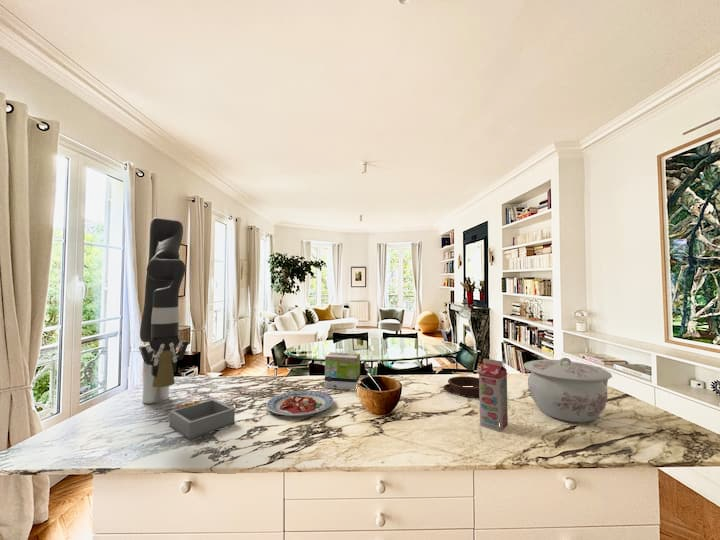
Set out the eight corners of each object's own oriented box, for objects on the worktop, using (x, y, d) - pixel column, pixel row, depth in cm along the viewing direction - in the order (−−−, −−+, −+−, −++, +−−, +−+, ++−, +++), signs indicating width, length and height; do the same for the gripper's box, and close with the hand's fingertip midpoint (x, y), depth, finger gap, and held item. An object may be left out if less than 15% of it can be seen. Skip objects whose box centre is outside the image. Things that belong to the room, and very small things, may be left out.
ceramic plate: (251, 414, 119) (251, 406, 120) (291, 392, 143) (291, 386, 144) (312, 425, 110) (312, 416, 110) (344, 400, 134) (344, 393, 134)
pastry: (174, 420, 114) (174, 409, 114) (168, 415, 119) (169, 404, 119) (202, 413, 121) (202, 402, 121) (196, 408, 126) (196, 398, 126)
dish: (503, 399, 135) (502, 387, 135) (450, 400, 134) (450, 388, 134) (485, 386, 152) (484, 375, 152) (438, 387, 151) (438, 376, 151)
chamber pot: (523, 421, 112) (522, 361, 113) (524, 397, 137) (523, 347, 138) (625, 439, 99) (623, 371, 100) (606, 409, 124) (605, 354, 125)
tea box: (324, 389, 148) (324, 356, 149) (329, 382, 158) (330, 351, 158) (356, 390, 145) (356, 357, 146) (360, 384, 155) (360, 352, 156)
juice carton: (488, 419, 114) (487, 356, 115) (507, 425, 109) (506, 359, 110) (479, 425, 109) (478, 359, 110) (499, 432, 105) (498, 363, 106)
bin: (169, 426, 109) (169, 411, 109) (213, 412, 121) (213, 398, 121) (188, 439, 100) (189, 423, 100) (234, 423, 111) (234, 408, 111)
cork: (179, 382, 104) (179, 348, 105) (161, 388, 99) (162, 352, 99) (165, 380, 107) (166, 346, 107) (147, 385, 101) (148, 350, 101)
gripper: (184, 318, 111) (183, 369, 111) (135, 322, 100) (133, 378, 100) (193, 320, 106) (192, 373, 106) (143, 324, 96) (141, 383, 95)
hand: (163, 375), depth 103 cm, fingers closed on cork, 4 cm apart
